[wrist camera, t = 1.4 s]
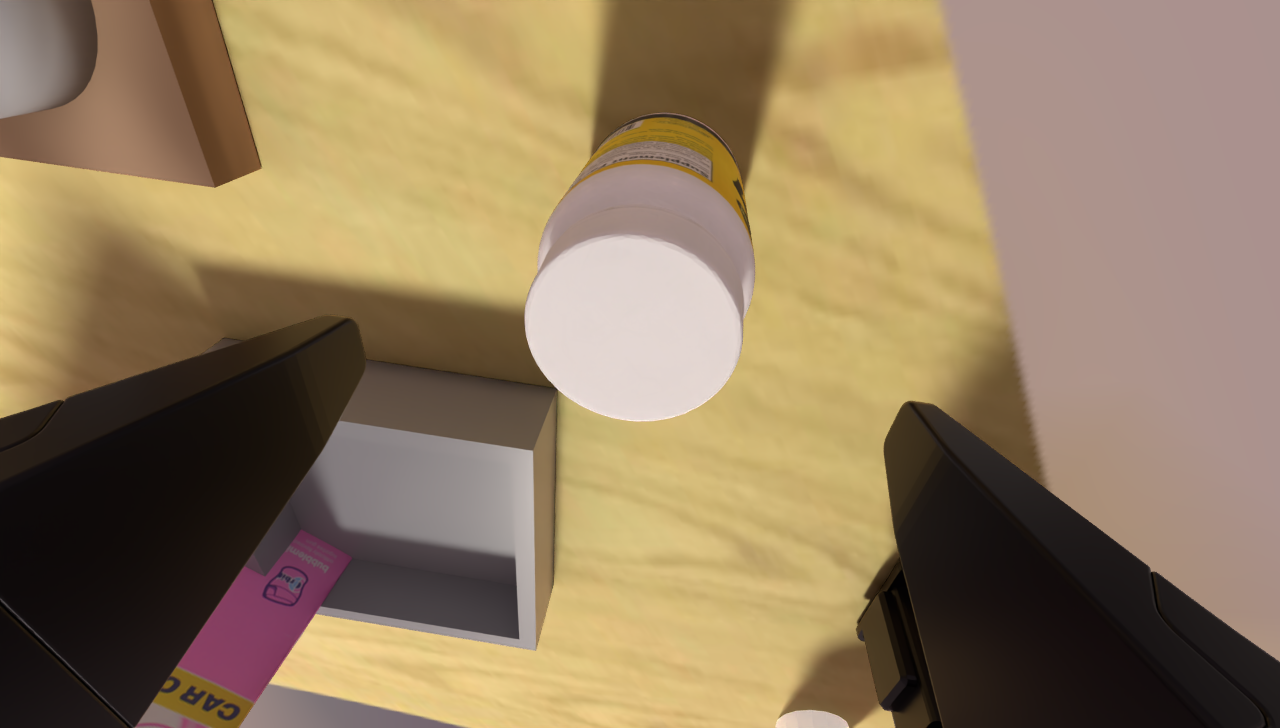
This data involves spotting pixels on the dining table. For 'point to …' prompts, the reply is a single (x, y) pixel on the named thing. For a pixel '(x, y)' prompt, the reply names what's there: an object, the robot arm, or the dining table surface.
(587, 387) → the supplement bottle
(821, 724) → the beverage cup
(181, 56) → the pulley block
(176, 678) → the gum box
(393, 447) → the tray
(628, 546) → the dining table surface
